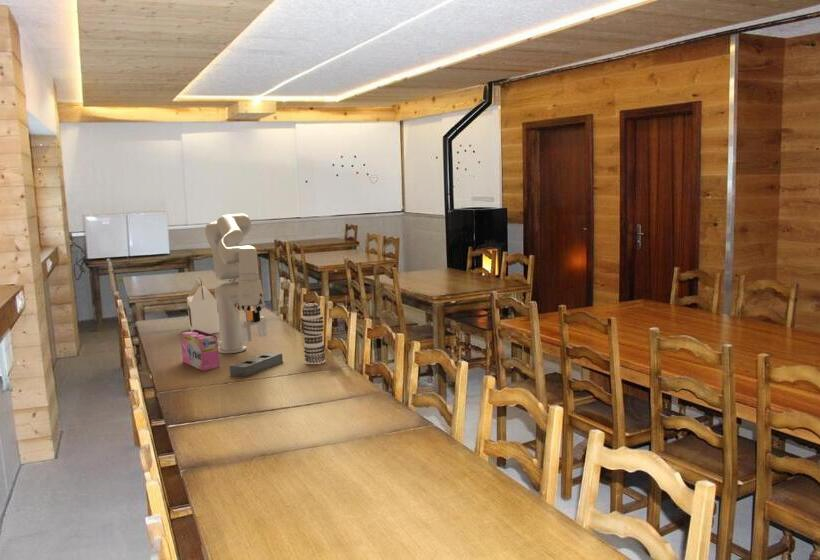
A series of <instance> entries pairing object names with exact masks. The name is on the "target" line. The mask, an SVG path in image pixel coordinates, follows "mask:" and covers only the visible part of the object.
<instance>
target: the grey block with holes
mask: <svg viewBox="0 0 820 560" xmlns="http://www.w3.org/2000/svg"><path fill="white" fill-rule="evenodd" d="M283 360H284V359H283V353H282V352H268V351H266V352H264V353H260V354H258V355H256V356H253V357H251V358H248V359H245V360H242V361H240V362H237V363H235V364H231V365H229V373H230V376H231V377H242V378H247V377H250V376H253V375H255V374H257V373H259V372H263V371H265V370H268V369H271V368H272V366H273V367H276V366H277V365H279V364H283V362H284V361H283ZM267 368H268V369H267ZM262 370H263V371H262Z"/></svg>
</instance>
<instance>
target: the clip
mask: <svg viewBox="0 0 820 560" xmlns="http://www.w3.org/2000/svg"><path fill="white" fill-rule="evenodd" d="M253 313H255V312H254V308H251V309H250V310H247V311H246V313H245V316H246V315H247V320H248V321H247V320H245V321H241V323H240V328H241V331H242V342H244V343H245V342H246V343H249V342H252V332H251V331H252V330H251V326H256V325H257V337H259V338H260V337H262V338H263V337H264V338H265V337H267V336H268V333H267V332H268V331H267V316H261V315H260V321H259V322H256V323H255V322H254V314H253Z"/></svg>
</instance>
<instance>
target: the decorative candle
mask: <svg viewBox="0 0 820 560" xmlns="http://www.w3.org/2000/svg"><path fill="white" fill-rule="evenodd" d="M301 310H302V317H301V318H300V320H301V321H302V322H301V323H300V324H301V325H302V326H301V329H302V334H303V335H302V336H303V338H304V342H303V343H304V345H303V346H304V347H303V349H304V353H305V354H304V360H305V363H306V364H305V365H307V364H318V365H322V364H325V363H326V360H325V359H326V353H325V352H324V351H325V345H324V340H323V339H324V338H323V336H324V329H323V328H324V325H323V323H324V320H323V319H324V317H323V316H322V314H321V306H320V305H319V304H318V303H315V302H309V303H308V302H307V303H305V304H304V305H303V306H302V307H301ZM324 362H325V363H324ZM321 363H322V364H321Z"/></svg>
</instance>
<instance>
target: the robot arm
mask: <svg viewBox="0 0 820 560" xmlns="http://www.w3.org/2000/svg"><path fill="white" fill-rule="evenodd" d="M251 228H252V222H251V218H250V217H249V215H247V214H245V213H234V214H233V213H231V214H224V215H223V214H222V215H221V216H220V217H219V218H218V219H217V220H216V221H212V222H209V223H208V224H206V226H205V229H204V231H205V237H206V241H207V243H208V244H209V247H210V249H211V252H212V257H213V265H214V266H213V267H214V273H215V277H216V278H217V280H219V281H230V280H239V281H233V282H226V283H220V284H218V285H216V286H215V288H214V298H215V299H216V301H217V311H218V322H219V333H220V340H217V341H218V347H219V348H218V353H220V354H227V355H228V354H238V353H241V352H245V351H246V350H247V346H246V345H244V344H243V342H242V331H241V328H240V323H241V322H242V321H241V313H240V310H239V309H238V307H236V306H235V305H234V304H237V303H238V306H239V308H242V310H243V311H244V313H245V318H246V320H245V321H248V320H247V315H246V311H247V310H250V309H252V308H251V307H253V309H254V312H255V313H253V314H254V322H255V323H256V322H259V321H260V317H261V311H262V309H263V308H265V307H266V306H267V305H266V302H265V298H264V290H263V285H262V281H261V279H260V275H259V263H258V252H257V248H256V247H254V246H253V245H240V244H241V243H242V242H243V241H244V238H245V237H246V236H247V234H249V232H251Z"/></svg>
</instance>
